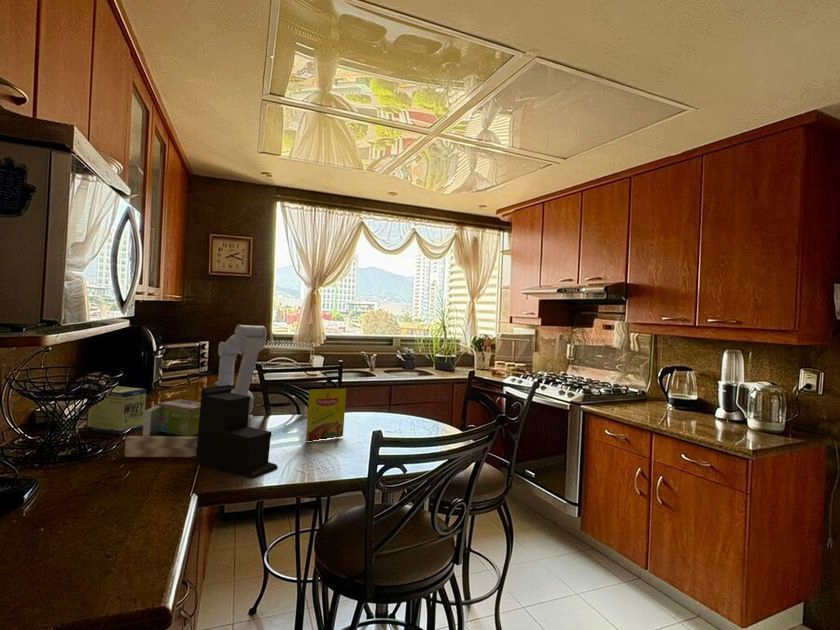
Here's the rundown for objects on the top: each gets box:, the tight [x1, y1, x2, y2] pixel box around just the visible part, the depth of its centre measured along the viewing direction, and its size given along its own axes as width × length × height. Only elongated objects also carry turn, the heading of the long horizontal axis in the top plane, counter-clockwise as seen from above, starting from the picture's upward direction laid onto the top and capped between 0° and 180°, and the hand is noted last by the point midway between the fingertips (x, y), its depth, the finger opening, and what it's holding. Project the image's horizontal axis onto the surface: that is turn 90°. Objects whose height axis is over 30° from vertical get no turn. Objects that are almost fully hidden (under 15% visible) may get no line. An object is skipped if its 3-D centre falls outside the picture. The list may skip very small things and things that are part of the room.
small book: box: [142, 404, 162, 436], centre depth 144 cm, size 2×9×14 cm, turn 11°
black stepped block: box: [195, 385, 278, 479], centre depth 134 cm, size 23×11×24 cm, turn 66°
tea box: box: [156, 398, 201, 437], centre depth 152 cm, size 15×10×15 cm, turn 74°
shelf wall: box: [124, 435, 198, 458], centre depth 140 cm, size 26×2×6 cm, turn 101°
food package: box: [305, 388, 347, 442], centre depth 169 cm, size 15×1×20 cm, turn 126°
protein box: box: [86, 385, 147, 435], centre depth 165 cm, size 10×16×16 cm
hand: (224, 405), depth 176 cm, fingers closed
